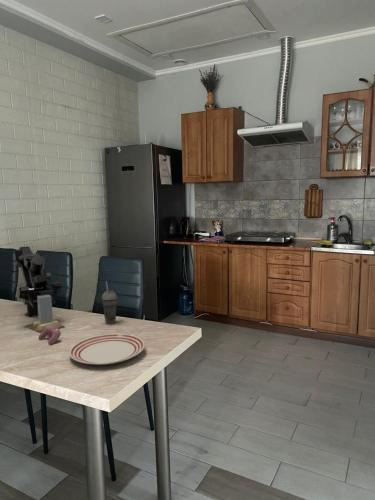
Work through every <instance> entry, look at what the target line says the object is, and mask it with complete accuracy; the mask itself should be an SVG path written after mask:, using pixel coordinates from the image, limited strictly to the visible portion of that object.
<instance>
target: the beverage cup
mask: <svg viewBox="0 0 375 500" xmlns="http://www.w3.org/2000/svg"><path fill="white" fill-rule="evenodd" d="M105 285H106V291H104V293H102V295H101V303H102V306H103V307H102V308H103V314H104V321H105V325H115V324H116V317H117V303H118V296H117V294H116V292H115V291H114V290H110V289H109V287H108V281H107V280H106V281H105Z"/></svg>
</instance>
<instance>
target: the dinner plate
mask: <svg viewBox="0 0 375 500" xmlns="http://www.w3.org/2000/svg"><path fill="white" fill-rule="evenodd" d="M145 347H146V344H145V341H144V340H143V339H142V338H140V337H138V336H136V335H134V334H133V335H132V334H126V333H125V334H124V333H107V334H100V335H95V336H94V335H93V336H91V337H88V338H84V339H83V340H80V341H79V342H77V343H75V344H74V345H73V346H71V347H70V349H69V352H68V354H69V357H70V358H71V359H72V360H73V361H75V362H78V363H80V364H81V363H82V364H87V365H97V366H99V365H101V366H102V365H112V364H116V363H117V364H118V363H122V362H125V361H127V360H130V359H133V358H135V357H136V356H138V355H139V354H140V353H142V352H143V351H144V350H145Z"/></svg>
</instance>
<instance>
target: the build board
mask: <svg viewBox="0 0 375 500" xmlns="http://www.w3.org/2000/svg"><path fill="white" fill-rule="evenodd" d="M47 326H55V327H57V328H58V329H59V330H60V329H63V328H65V325H64V324H60V323H59V321H58V320H55V319H53V322H52V323H46V324H41V323H40V322H39V320H37V321H34V322H33V321H32V323H29V324H26V325H25V328H27V329H30V330H32V331H35V332H37V333H39V334H41V333H42V332H43V331H44V329H45V328H46V327H47Z"/></svg>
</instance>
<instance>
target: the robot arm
mask: <svg viewBox="0 0 375 500" xmlns="http://www.w3.org/2000/svg"><path fill="white" fill-rule="evenodd" d="M13 261H14V262H15V265H16V267H18V268H20V271H21V274H22V278H23V282H24V286H20V287H19V288H18V293H17V295H18V296H17V297H18V299H22V303H23V304H24V305H25V306H26V313H24V316H27V317H30V318H31V317H32V318H33V317H35V316H38V303H37V296H40V295H44V293H43V292H49V291H50V292H51V299H52V304H54V305H56V300H57V295H59V294H60V293H61V291H62V288H63V284H62V282H59V281H57V282H51V283H52V284H51V286H50V285H49V286H47V285H48V281H51V280H52V273H51V272H46V273H44V274H43V271H44V268H45V262H46V258H45V257H44V256H42V255H41V254H40V253H34V252H33V250H31V248H30V246H28V245H27V246H20V247H18V249H17V250H16V251H14V253H13Z"/></svg>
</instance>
